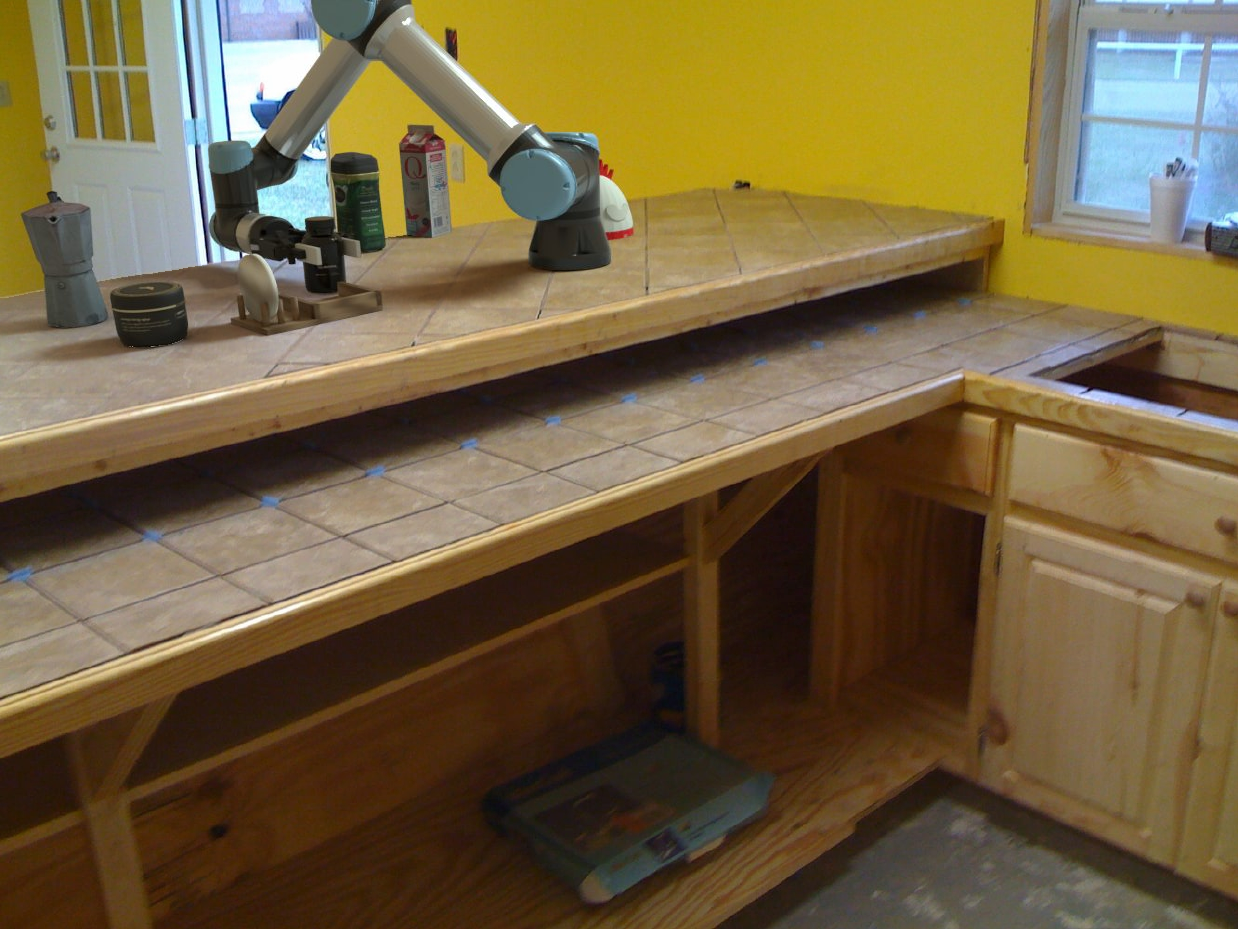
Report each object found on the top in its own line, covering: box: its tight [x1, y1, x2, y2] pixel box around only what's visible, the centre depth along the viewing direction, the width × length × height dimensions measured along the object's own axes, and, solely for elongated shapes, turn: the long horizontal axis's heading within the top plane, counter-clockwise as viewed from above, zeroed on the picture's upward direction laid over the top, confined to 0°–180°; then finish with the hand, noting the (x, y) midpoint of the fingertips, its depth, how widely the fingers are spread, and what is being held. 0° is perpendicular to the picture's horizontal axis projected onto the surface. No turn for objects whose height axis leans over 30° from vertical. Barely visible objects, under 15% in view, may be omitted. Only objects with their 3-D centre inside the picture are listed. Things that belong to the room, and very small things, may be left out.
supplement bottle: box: [301, 215, 347, 295], centre depth 198 cm, size 7×7×12 cm
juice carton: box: [398, 124, 453, 239], centre depth 244 cm, size 7×7×22 cm
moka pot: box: [20, 190, 109, 328], centre depth 181 cm, size 10×15×20 cm, turn 24°
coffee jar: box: [330, 151, 387, 253], centre depth 231 cm, size 10×8×19 cm
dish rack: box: [230, 254, 384, 336], centre depth 182 cm, size 20×11×11 cm, turn 135°
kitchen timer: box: [599, 158, 634, 241], centre depth 241 cm, size 14×14×15 cm
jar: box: [109, 281, 189, 348], centre depth 171 cm, size 10×10×8 cm
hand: (338, 252), depth 194 cm, fingers closed on supplement bottle, 7 cm apart
